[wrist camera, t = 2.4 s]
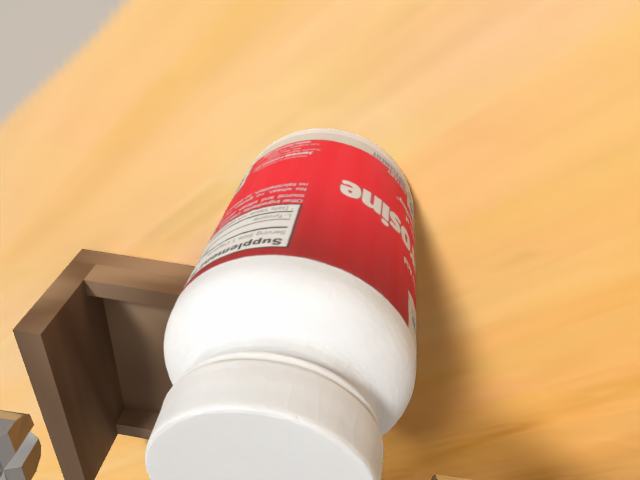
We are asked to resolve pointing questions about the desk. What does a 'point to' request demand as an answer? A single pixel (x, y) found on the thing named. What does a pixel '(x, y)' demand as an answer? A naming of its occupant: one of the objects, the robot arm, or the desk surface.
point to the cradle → (100, 353)
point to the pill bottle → (295, 322)
